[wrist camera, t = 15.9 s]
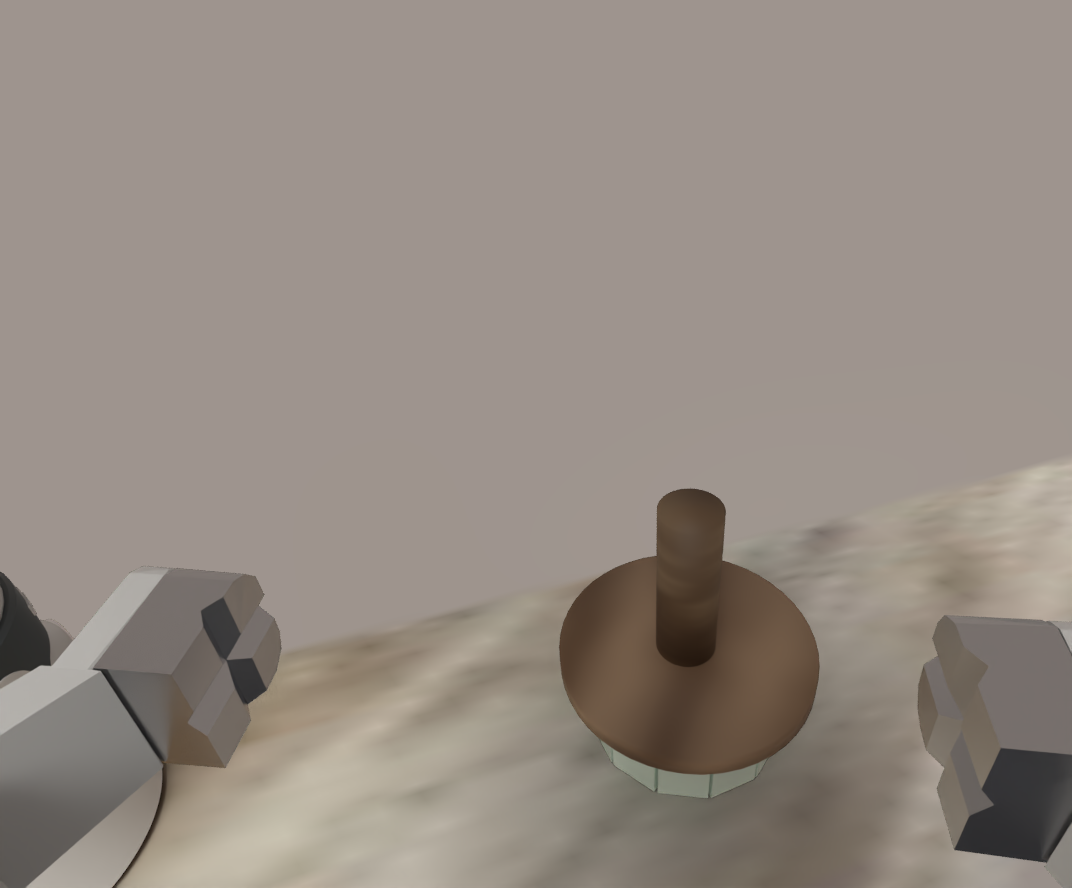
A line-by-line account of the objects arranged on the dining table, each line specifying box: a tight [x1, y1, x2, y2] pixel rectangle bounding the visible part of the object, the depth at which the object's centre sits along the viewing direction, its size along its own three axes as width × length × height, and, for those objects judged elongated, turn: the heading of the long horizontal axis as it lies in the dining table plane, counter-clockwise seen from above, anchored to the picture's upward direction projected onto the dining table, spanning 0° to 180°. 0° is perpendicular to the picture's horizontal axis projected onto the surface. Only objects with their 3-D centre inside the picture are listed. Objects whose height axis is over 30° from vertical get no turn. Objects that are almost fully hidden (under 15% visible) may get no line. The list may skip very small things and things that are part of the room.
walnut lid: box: [559, 489, 820, 775], centre depth 37 cm, size 13×13×10 cm
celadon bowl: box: [600, 740, 768, 798], centre depth 41 cm, size 10×10×4 cm
